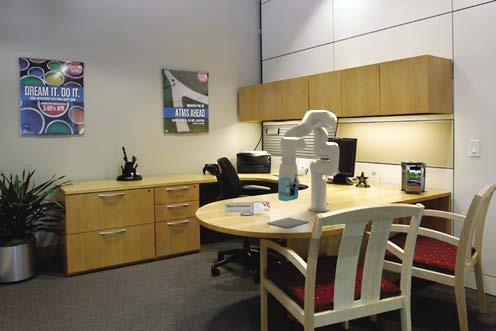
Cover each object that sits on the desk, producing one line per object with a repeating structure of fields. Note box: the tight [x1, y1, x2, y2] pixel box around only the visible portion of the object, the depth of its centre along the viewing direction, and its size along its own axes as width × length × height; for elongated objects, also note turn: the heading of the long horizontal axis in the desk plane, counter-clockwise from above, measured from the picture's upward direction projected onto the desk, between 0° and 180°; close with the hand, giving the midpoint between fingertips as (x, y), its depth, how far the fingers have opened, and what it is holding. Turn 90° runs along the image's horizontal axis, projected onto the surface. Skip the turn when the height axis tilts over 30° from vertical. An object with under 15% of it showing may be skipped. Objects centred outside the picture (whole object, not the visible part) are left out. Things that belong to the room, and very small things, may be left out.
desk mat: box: [267, 217, 309, 229], centre depth 214 cm, size 18×14×1 cm
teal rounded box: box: [277, 178, 299, 202], centre depth 212 cm, size 12×4×12 cm, turn 137°
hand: (288, 194), depth 213 cm, fingers closed on teal rounded box, 4 cm apart
